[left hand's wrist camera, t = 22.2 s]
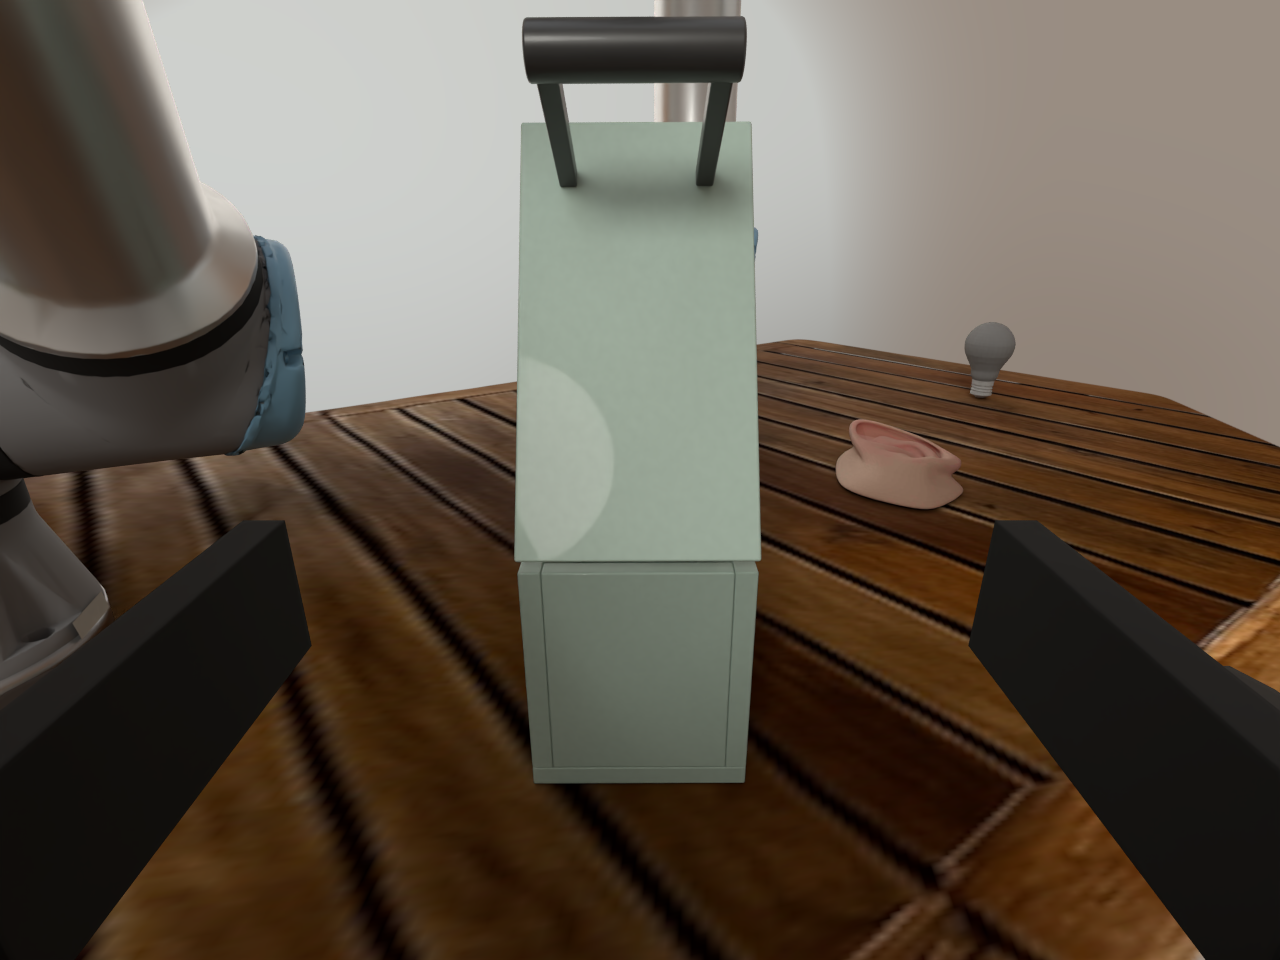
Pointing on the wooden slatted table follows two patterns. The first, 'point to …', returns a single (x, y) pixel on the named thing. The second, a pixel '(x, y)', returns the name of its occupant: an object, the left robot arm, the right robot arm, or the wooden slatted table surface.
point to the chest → (638, 669)
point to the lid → (636, 305)
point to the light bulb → (988, 355)
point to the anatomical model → (897, 467)
